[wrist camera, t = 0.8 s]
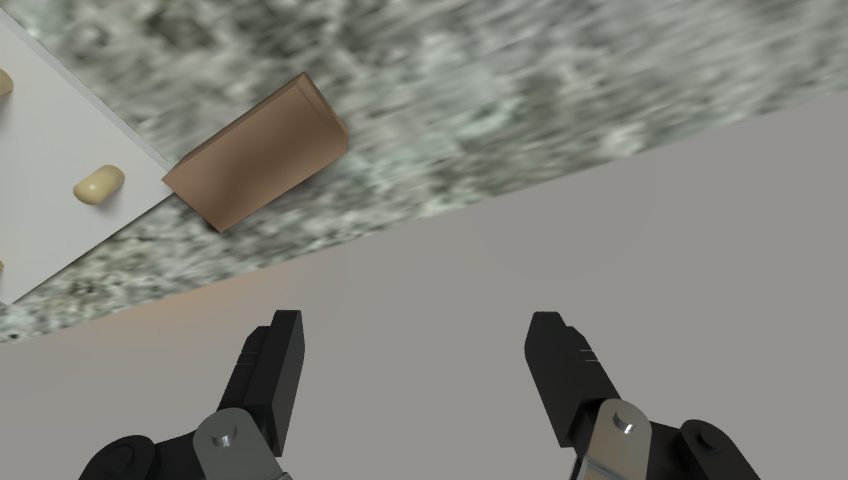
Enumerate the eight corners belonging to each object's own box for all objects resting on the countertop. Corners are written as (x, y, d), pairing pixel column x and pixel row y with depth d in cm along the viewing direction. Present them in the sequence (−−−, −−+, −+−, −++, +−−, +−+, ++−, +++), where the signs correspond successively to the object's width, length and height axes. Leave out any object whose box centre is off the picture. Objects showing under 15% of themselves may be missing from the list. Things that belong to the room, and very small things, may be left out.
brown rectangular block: (187, 153, 29) (160, 179, 25) (305, 70, 27) (294, 85, 23) (237, 202, 32) (220, 233, 28) (349, 130, 29) (346, 153, 26)
